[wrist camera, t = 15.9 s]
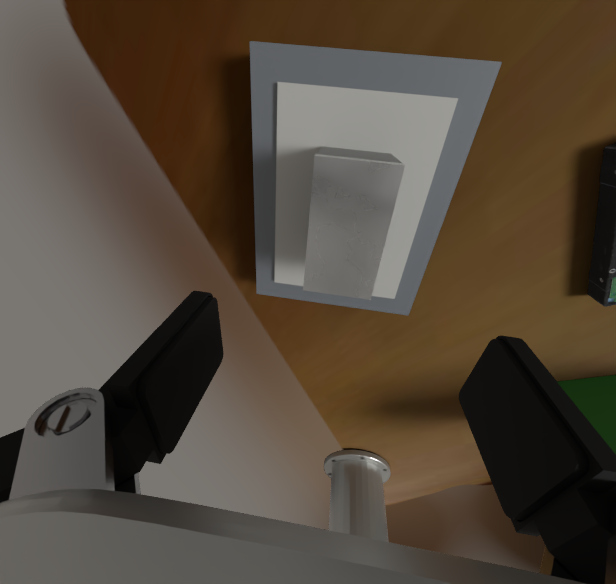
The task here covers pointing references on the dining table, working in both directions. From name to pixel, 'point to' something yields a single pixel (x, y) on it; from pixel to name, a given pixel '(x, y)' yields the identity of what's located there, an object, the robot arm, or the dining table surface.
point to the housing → (349, 219)
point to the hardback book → (596, 403)
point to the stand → (358, 136)
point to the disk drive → (605, 235)
